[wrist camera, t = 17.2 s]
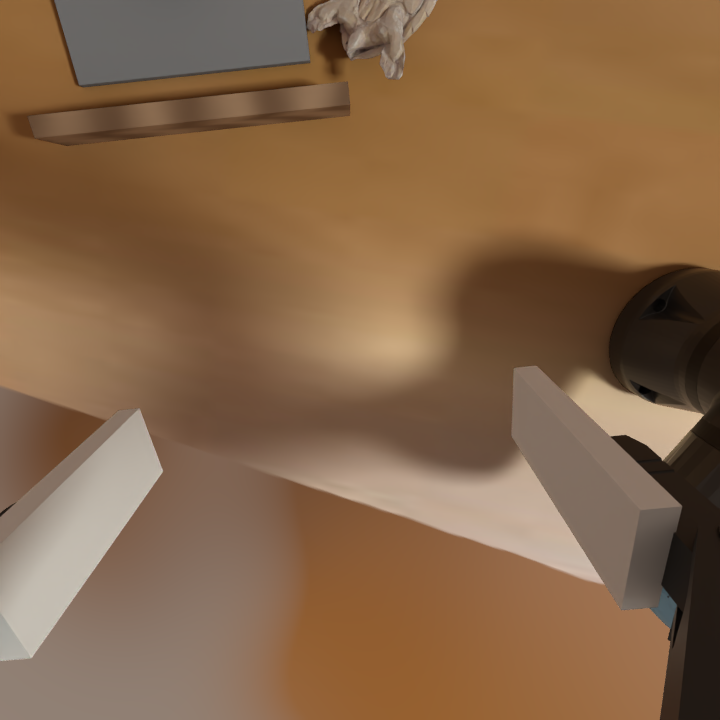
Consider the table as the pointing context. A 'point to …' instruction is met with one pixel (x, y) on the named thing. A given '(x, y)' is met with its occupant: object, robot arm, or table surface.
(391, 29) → the turtle
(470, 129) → the table surface
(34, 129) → the wooden plank
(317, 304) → the table surface
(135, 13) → the mat
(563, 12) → the table surface
